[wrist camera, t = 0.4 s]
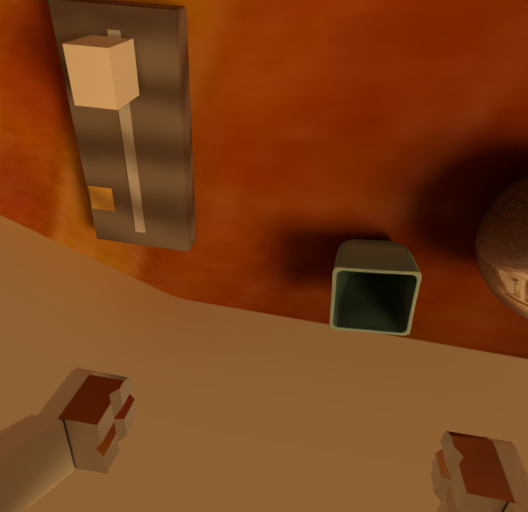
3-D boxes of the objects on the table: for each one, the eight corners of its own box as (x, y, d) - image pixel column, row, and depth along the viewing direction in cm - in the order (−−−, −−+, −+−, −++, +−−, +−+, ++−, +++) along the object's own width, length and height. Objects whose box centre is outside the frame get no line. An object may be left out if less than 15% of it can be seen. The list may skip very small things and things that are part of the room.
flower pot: (334, 223, 50) (332, 267, 43) (411, 226, 49) (423, 273, 42) (331, 281, 55) (328, 330, 48) (400, 285, 54) (409, 336, 47)
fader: (91, 34, 39) (62, 43, 35) (133, 38, 39) (108, 48, 35) (100, 91, 42) (74, 105, 38) (139, 95, 42) (117, 109, 37)
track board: (65, -4, 41) (46, -1, 38) (186, 7, 40) (174, 10, 37) (107, 226, 56) (96, 239, 53) (196, 238, 55) (188, 252, 52)
